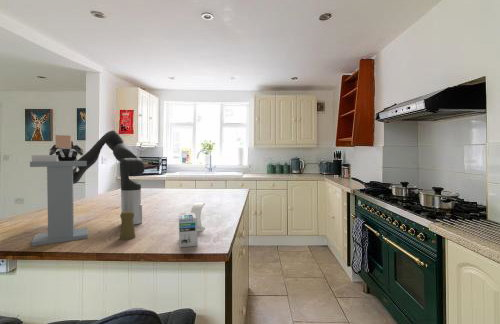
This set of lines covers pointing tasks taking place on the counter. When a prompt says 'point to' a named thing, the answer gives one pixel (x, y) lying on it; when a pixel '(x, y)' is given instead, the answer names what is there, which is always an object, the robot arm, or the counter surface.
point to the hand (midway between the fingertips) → (65, 141)
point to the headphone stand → (198, 214)
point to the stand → (59, 200)
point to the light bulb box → (187, 229)
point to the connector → (63, 141)
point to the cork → (127, 226)
